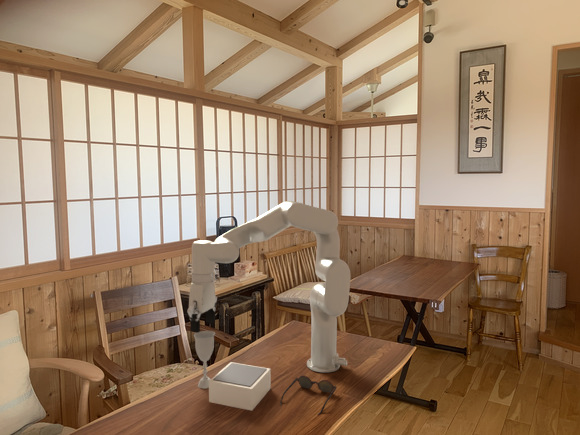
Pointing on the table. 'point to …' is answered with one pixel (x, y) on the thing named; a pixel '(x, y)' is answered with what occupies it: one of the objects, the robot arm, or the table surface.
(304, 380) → the eyeglasses
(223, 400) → the display plinth
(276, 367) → the table surface
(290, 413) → the table surface
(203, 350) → the chalice
